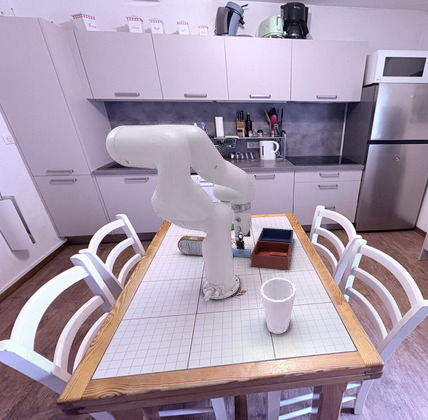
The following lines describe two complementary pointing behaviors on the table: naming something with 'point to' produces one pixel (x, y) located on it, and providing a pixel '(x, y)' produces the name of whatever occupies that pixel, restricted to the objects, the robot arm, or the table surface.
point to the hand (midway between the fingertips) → (243, 242)
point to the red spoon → (274, 254)
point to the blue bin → (276, 235)
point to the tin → (191, 245)
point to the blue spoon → (241, 252)
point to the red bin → (271, 261)
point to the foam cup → (278, 303)
